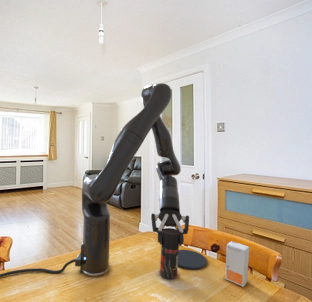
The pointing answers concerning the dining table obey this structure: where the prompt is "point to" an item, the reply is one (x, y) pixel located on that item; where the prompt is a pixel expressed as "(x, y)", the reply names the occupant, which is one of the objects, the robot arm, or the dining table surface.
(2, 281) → the dining table surface
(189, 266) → the mat
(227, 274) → the cosmetic box
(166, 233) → the deodorant
